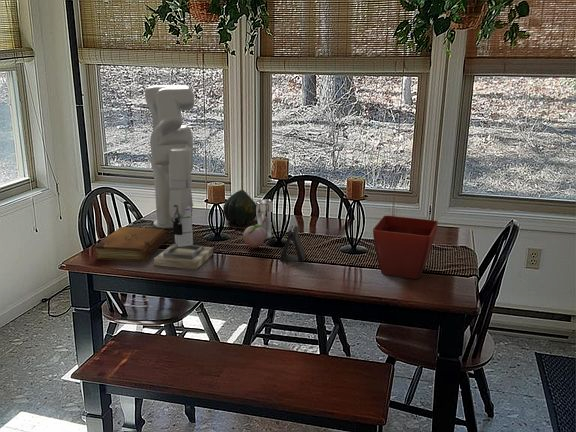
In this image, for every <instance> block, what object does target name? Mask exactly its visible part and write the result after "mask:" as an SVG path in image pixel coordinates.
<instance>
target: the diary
mask: <svg viewBox="0 0 576 432" xmlns="http://www.w3.org/2000/svg"><path fill="white" fill-rule="evenodd" d="M166 241H167V231H166V229H165V228H153V227H152V228H151V227H149V228H148V227H130V226H129V227H128V226H120V227H118V228H117V229H116V230H115V231H113V232H112V233H110V234H108V236H106V237H105V238H104V239H103V240H101V241H99V242H98V243H97V244H95V245H94V249H96V251H97V257H95V260H100V261H101V260H102V261H103V260H104V261H116V262H117V261H118V262H119V261H120V262H132V263H133V262H134V263H135V262H136V263H145V261H147V260H148V259H149V257H151V256H152V255H153V254H154V253H155V252H156V251H158V249H159V248H160V247H162V245H163V244H164V243H166Z"/></svg>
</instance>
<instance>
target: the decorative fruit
mask: <svg viewBox="0 0 576 432" xmlns="http://www.w3.org/2000/svg"><path fill="white" fill-rule="evenodd" d="M261 226H262V225H260V224H256V223H254V224H253V225H250V226H248V227H246V228H245V229H244V231H243V235H242V238H243V240H244V242H245V244H246V245H247V246H248V247H250V248H252V249H257V248H259V247H260V246H261V245H262V244H263V243H264V242H265V240H266V239H265V237H266V232H265V230H264V229H263V228H262V227H261Z"/></svg>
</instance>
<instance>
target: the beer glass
mask: <svg viewBox="0 0 576 432" xmlns="http://www.w3.org/2000/svg"><path fill="white" fill-rule="evenodd" d="M255 204H256V217H255V219H256V223H257V224H260V225H262V226H261V227H262V228H263V229H264V230H265V232H266V237H265V240H270V239H272V238H273V235H272V224H273V223H272V222H273V221H272V222H271V212H272V220H273V217H274V206H273V205H274V203H273V200H271V199H266V198H265V199H263V198H262V199H257V200H256V201H255Z"/></svg>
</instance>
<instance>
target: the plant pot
mask: <svg viewBox="0 0 576 432" xmlns="http://www.w3.org/2000/svg"><path fill="white" fill-rule="evenodd" d="M438 224H439V221H437V220H434V219H433V220H432V219H425V218H424V219H423V218H415V217H414V218H413V217H408V216H407V217H405V216H398V215H397V216H395V215H384V216H383V217H381V219H380V220H379V221H378V223H377V224H376V225H375V226H374V227H373V229H372V234H373V235H372V237H373V242H374V248H375V249H374V250H375V254H376V259H377V262H378V266H379V269H380V271H381V274H382V275H384V276H385V275H387V276H394V277H401V278H407V279H414V280H418V279H419V278H420V277H421V276H422V273H423V270H424V268H425V267H426V265H427V262H428V259H429V257H430V253H431V251H432V247H433V244H434V240H435V237H436V232H437V230H438Z"/></svg>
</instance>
